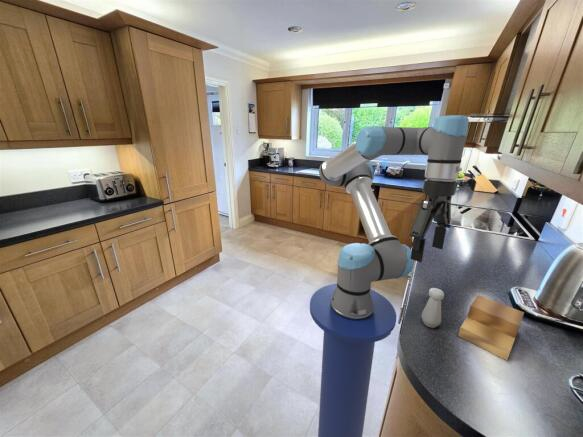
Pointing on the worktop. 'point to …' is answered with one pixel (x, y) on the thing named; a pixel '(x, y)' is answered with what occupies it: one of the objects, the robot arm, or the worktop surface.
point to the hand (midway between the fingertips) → (427, 253)
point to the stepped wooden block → (491, 326)
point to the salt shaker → (433, 308)
